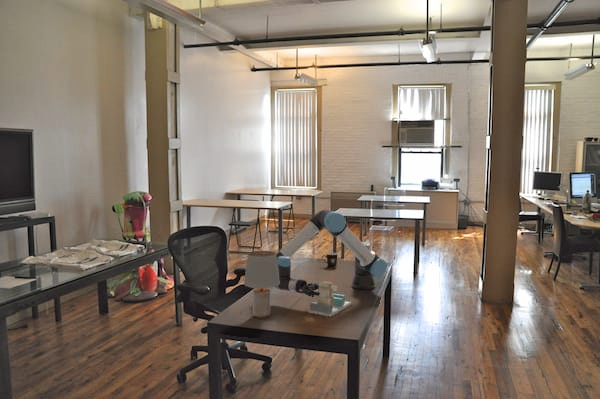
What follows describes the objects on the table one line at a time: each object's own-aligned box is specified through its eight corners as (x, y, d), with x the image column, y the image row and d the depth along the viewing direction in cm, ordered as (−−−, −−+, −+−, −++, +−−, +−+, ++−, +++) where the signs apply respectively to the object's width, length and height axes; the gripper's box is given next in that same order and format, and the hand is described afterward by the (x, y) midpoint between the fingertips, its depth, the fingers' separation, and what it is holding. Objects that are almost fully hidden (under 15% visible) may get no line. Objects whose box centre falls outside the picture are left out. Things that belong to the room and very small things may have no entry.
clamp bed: (329, 300, 287) (329, 291, 286) (351, 304, 280) (351, 295, 279) (308, 312, 266) (308, 302, 265) (330, 317, 258) (330, 306, 258)
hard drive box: (368, 272, 354) (369, 245, 352) (358, 272, 355) (358, 245, 353) (369, 267, 369) (370, 241, 367) (359, 267, 370) (360, 241, 368)
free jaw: (329, 299, 284) (329, 292, 284) (348, 302, 278) (348, 295, 278) (322, 303, 277) (322, 296, 277) (341, 306, 271) (341, 299, 271)
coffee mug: (338, 265, 375) (339, 253, 374) (336, 268, 367) (336, 255, 366) (324, 264, 379) (324, 252, 378) (321, 267, 371) (321, 254, 370)
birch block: (323, 305, 272) (323, 281, 271) (333, 307, 269) (333, 282, 268) (318, 308, 267) (318, 283, 266) (328, 310, 264) (328, 285, 263)
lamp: (266, 324, 246) (265, 259, 243) (237, 318, 256) (236, 254, 253) (286, 314, 262) (286, 252, 259) (258, 308, 272) (258, 248, 269)
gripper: (309, 287, 288) (341, 292, 276) (286, 297, 266) (320, 304, 255) (309, 274, 287) (341, 279, 276) (286, 284, 266) (320, 290, 255)
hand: (331, 291), depth 266 cm, fingers open, 13 cm apart
